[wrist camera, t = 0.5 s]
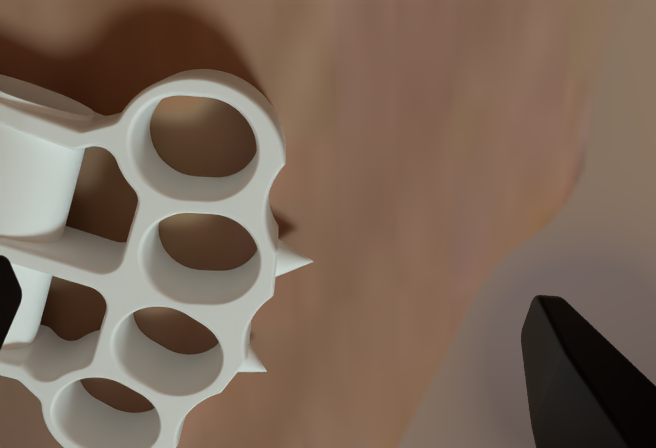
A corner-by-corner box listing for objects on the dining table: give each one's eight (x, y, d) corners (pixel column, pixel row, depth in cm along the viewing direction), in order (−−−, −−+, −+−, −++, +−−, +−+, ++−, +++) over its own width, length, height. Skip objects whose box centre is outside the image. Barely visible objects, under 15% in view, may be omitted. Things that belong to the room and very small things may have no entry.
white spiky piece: (6, -17, 20) (363, 124, 23) (-68, 367, 26) (229, 443, 28) (-46, -24, 17) (375, 141, 20) (-117, 416, 22) (222, 496, 25)
